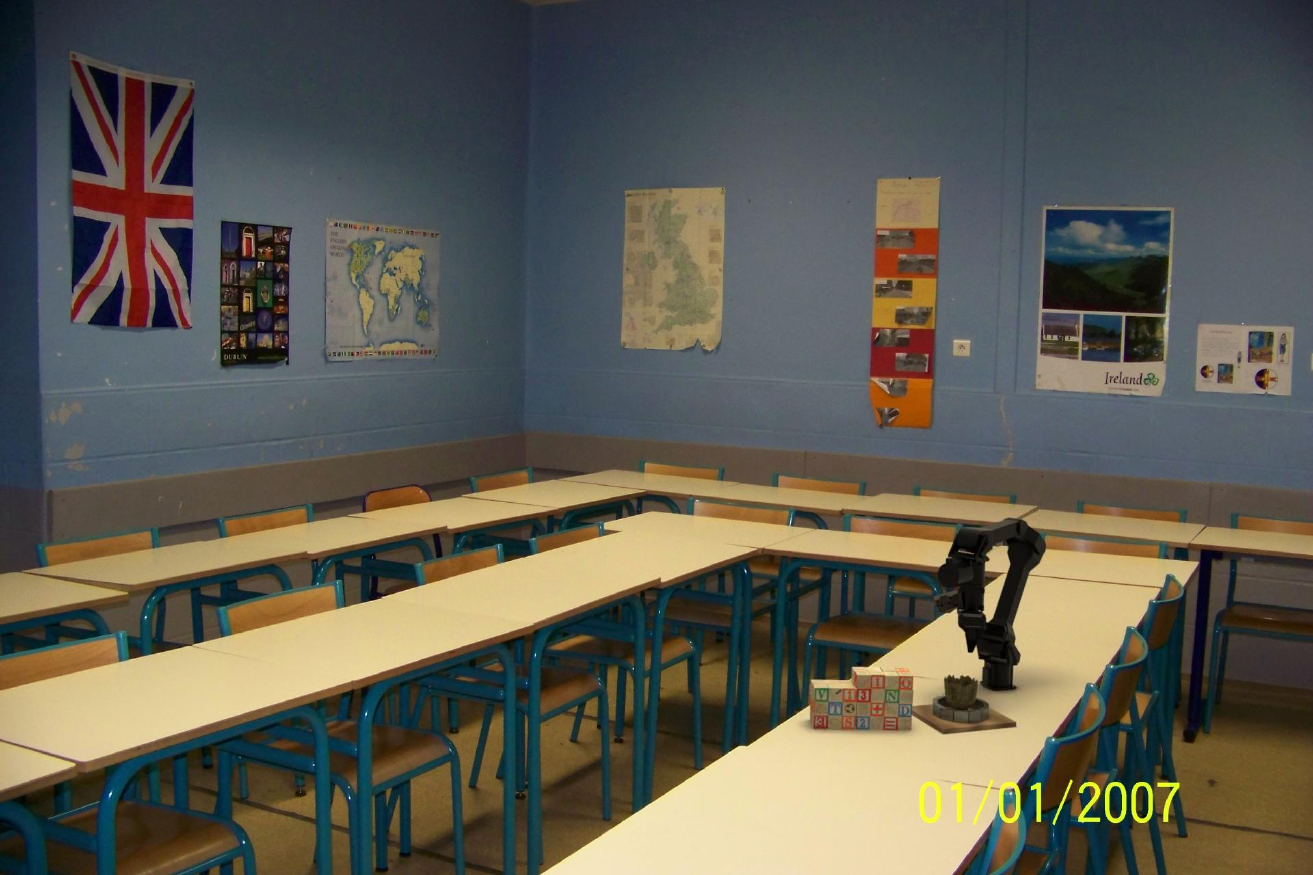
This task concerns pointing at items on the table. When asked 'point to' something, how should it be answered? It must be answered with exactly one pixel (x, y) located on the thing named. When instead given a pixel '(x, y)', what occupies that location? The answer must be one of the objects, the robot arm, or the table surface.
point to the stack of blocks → (864, 700)
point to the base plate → (946, 726)
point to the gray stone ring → (961, 711)
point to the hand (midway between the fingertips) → (969, 647)
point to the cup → (960, 692)
